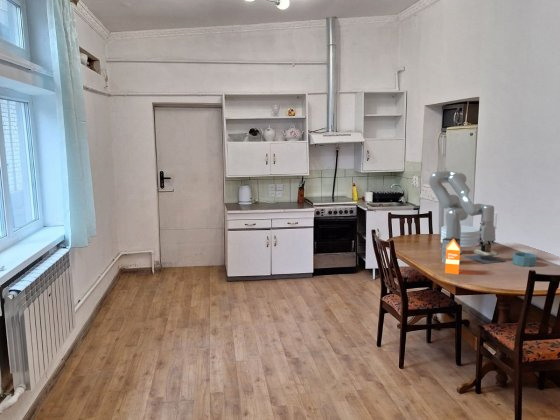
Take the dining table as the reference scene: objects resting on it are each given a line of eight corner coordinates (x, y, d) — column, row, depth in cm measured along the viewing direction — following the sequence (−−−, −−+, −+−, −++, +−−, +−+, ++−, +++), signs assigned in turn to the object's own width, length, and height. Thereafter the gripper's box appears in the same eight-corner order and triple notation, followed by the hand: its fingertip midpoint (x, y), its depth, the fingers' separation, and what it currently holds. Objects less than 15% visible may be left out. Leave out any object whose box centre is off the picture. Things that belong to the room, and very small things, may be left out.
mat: (482, 263, 293) (482, 263, 293) (464, 256, 310) (464, 256, 310) (505, 261, 298) (505, 260, 298) (486, 254, 315) (486, 254, 315)
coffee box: (451, 260, 302) (452, 236, 299) (459, 262, 296) (460, 238, 294) (441, 262, 297) (442, 238, 295) (449, 264, 292) (450, 240, 289)
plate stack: (432, 240, 360) (433, 226, 359) (459, 237, 371) (460, 224, 369) (459, 248, 335) (460, 233, 333) (487, 244, 346) (488, 230, 344)
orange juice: (445, 272, 274) (446, 240, 271) (445, 269, 282) (446, 237, 279) (458, 274, 271) (460, 241, 268) (458, 270, 279) (460, 238, 276)
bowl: (523, 267, 284) (524, 258, 283) (508, 262, 297) (508, 253, 296) (540, 265, 288) (541, 256, 287) (524, 260, 300) (525, 251, 299)
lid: (484, 256, 294) (484, 247, 293) (468, 251, 308) (469, 242, 307) (503, 254, 298) (503, 245, 297) (487, 249, 312) (487, 241, 311)
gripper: (480, 225, 294) (479, 252, 297) (501, 223, 299) (500, 250, 301) (472, 223, 302) (471, 250, 304) (493, 222, 306) (492, 248, 309)
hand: (485, 250), depth 303 cm, fingers closed on lid, 4 cm apart
